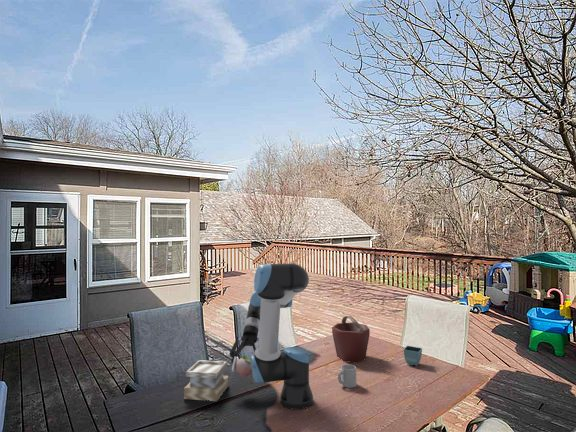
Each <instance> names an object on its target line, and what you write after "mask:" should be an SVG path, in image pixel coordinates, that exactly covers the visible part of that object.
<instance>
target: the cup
mask: <svg viewBox="0 0 576 432" xmlns="http://www.w3.org/2000/svg"><path fill="white" fill-rule="evenodd" d="M337 381H338V383H339V384H340V385H342V386H343V387H344V388H347V389H353V387H354V388H356V386H357V367H356V366H355V365H353V364H349V363H347V364H343V365H341V370H339V371H338V373H337Z"/></svg>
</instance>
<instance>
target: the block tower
mask: <svg viewBox="0 0 576 432" xmlns="http://www.w3.org/2000/svg"><path fill="white" fill-rule="evenodd" d="M227 366H228V361H226V360H225V361H224V360H223V361H222V360H220V361H219V360H204V359H203V360H201V359H198V360H197V361H196V362H195V363H193V365H192V366H191V367H189V368H188V369H187V370H186V371H185V377H187V378H188V377H189V383H187V385H186V386H184V387H183V399H184V400H194V401H195V400H196V401H206V400H207V401H208V400H209V401H208V402H218V401H219V399H220V398H221V397H220V396H222V395H223V394H224V393H225V392H226V390H227V388H228V387H229V375H224V370H225V369H226V368H227ZM223 392H224V393H223ZM217 400H218V401H217Z"/></svg>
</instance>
